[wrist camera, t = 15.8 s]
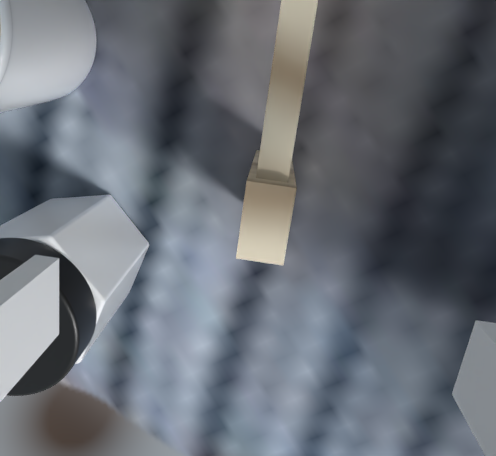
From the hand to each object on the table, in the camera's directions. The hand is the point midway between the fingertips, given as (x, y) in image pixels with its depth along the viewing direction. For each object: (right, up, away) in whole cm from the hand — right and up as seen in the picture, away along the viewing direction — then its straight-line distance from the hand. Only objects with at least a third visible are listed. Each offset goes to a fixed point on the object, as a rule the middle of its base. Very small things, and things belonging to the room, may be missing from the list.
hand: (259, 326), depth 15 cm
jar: (-12, +2, +20) cm, 23 cm away
